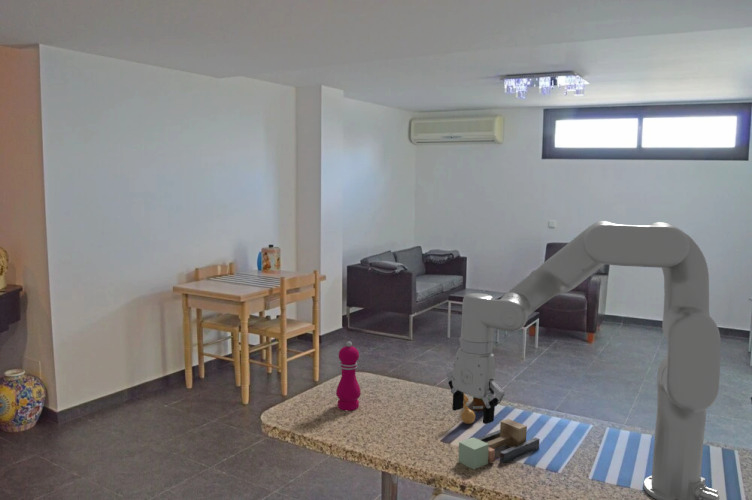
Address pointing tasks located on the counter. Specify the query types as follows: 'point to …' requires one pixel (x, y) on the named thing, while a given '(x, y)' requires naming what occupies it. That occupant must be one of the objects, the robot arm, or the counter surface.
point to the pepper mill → (348, 379)
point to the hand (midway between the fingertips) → (472, 415)
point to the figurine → (467, 412)
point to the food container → (478, 404)
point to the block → (473, 453)
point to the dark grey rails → (513, 451)
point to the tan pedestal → (507, 437)
